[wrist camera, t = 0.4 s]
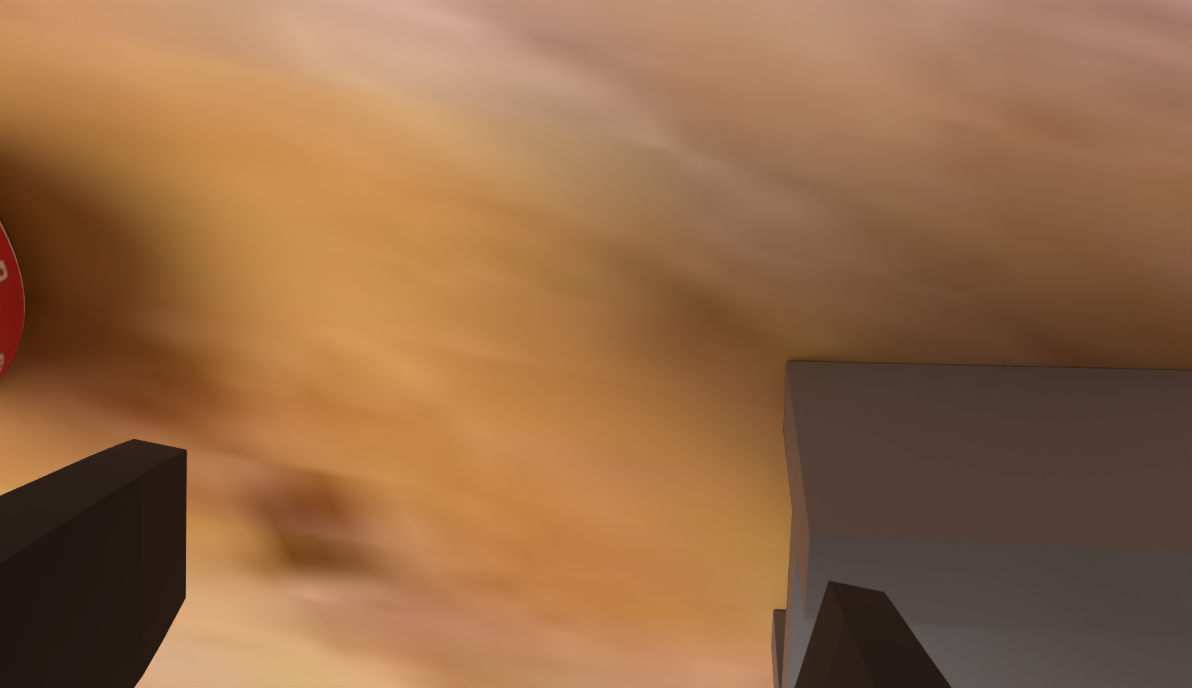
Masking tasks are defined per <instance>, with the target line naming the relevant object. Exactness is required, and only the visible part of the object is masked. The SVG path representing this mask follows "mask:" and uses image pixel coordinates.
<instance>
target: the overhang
mask: <svg viewBox="0 0 1192 688" xmlns="http://www.w3.org/2000/svg"><path fill="white" fill-rule="evenodd" d="M783 431H784V440H785V449H786V459H787V468H788V477H789V486H790V495H791V504H792V522H791V538H790V555H789V572H788V589H787V605H786V611H775V610H773V628H772V663H773V679H774V688H795V685H796V681H797V678H798V675H799V672H800V669H801V666H802V663H803V659H804V656H805V653H806V650H807V647H808V644H809V641H810V637H811V634H812V631H813V628H814V625H815V622H816V618H817V615H818V612H819V609H820V606H821V603H822V600H823V596H824V593H825V590H826V587H827V584H828V581H834V582H838V583H843V584H848V585H853V586H858V587H863V588H868V589H873V590H878V591H883V592H885V594H886V595H887V596H888V598H889V599H890V600H891V602H892V603H893V605H894V606H895V607H896V609H897V610H898V612H899V613H900V615H901V616H902V617H903V619H904V620H905V622H906V623H907V625H908V626H909V628H910V629H911V630H912V632H913V633H914V635H915V636H916V638H917V639H918V641H919V642H920V644H921V645H922V646H923V648H924V649H925V651H926V652H927V654H928V655H929V656H930V658H931V659H932V661H933V662H934V664H935V665H936V666H937V668H938V669H939V671H940V672H941V673H942V675H943V676H944V678H945V679H946V681H947V682H948V683H949V685H950V686H951V687H952V688H1192V370H1150V369H1107V368H1064V367H1021V366H978V365H935V364H891V363H848V362H805V361H787V368H786V386H785V405H784V423H783Z"/></svg>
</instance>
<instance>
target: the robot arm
mask: <svg viewBox="0 0 1192 688" xmlns="http://www.w3.org/2000/svg"><path fill="white" fill-rule="evenodd" d="M186 483H187V450H185V449H180V448H176V447H171V446H166V445H161V444H156V443H151V442H146V441H141V440H136V439H132V440H130V441H127V442H124V443H121V444H119V445H116V446H113V447H111V448H108V449H106V450H103V451H101V452H99V453H96V454H94V455H92V456H89V457H87V458H85V459H82V460H80V461H78V462H75V463H73V464H71V465H69V466H66V467H64V468H62V469H60V470H57V471H55V472H53V473H51V474H48V475H46V476H44V477H42V478H39V479H37V480H35V481H33V482H30V483H28V484H26V485H24V486H21V487H19V488H17V489H14V490H12V491H10V492H7V493H5V494H3V495H1V496H0V688H134V687H135V686H136V684H137V683H138V682H139V680H140V679H141V677H142V676H143V674H144V673H145V671H146V669H147V667H148V666H149V664H150V662H151V660H152V659H153V657H154V655H155V653H156V652H157V650H158V648H159V646H160V645H161V643H162V641H163V639H164V638H165V636H166V634H167V632H168V630H169V628H170V626H171V624H172V623H173V621H174V619H175V617H176V615H177V613H178V611H179V609H180V608H181V606H182V604H183V602H184V600H185V598H186ZM795 688H952V687H951V686H950V685H949V683H948V682H947V681H946V679H945V678H944V676H943V675H942V673H941V672H940V671H939V669H938V668H937V666H936V665H935V664H934V662H933V661H932V659H931V658H930V656H929V655H928V654H927V652H926V651H925V649H924V648H923V646H922V645H921V644H920V642H919V641H918V639H917V638H916V636H915V635H914V633H913V632H912V630H911V629H910V628H909V626H908V625H907V623H906V622H905V620H904V619H903V617H902V616H901V615H900V613H899V612H898V610H897V609H896V607H895V606H894V605H893V603H892V602H891V600H890V599H889V598H888V596H887V595H886V594H885V592H883V591H878V590H873V589H868V588H863V587H858V586H853V585H848V584H843V583H838V582H834V581H828V584H827V587H826V590H825V593H824V596H823V600H822V603H821V606H820V609H819V612H818V615H817V618H816V622H815V625H814V628H813V631H812V634H811V637H810V641H809V644H808V647H807V650H806V653H805V656H804V659H803V663H802V666H801V669H800V672H799V675H798V678H797V681H796V685H795Z"/></svg>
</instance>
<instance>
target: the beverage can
mask: <svg viewBox="0 0 1192 688" xmlns="http://www.w3.org/2000/svg"><path fill="white" fill-rule="evenodd" d="M24 315H25V298H24V288H23V282H22V277H21V273H20V269H19V265H18V262H17V259H16V256H15V253H14V250H13V248H12V246H11V243H10V240H9V238H8V236H7V234H6V231H5V229H4V227H3V225H2V223H1V221H0V378H1V377H2V375H3V374H4V373H5V372H6V371H7V369H8V367H9V366H10V364H11V362H12V361H13V359H14V357H15V354H16V352H17V349H18V346H19V343H20V339H21V336H22V331H23V325H24Z"/></svg>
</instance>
